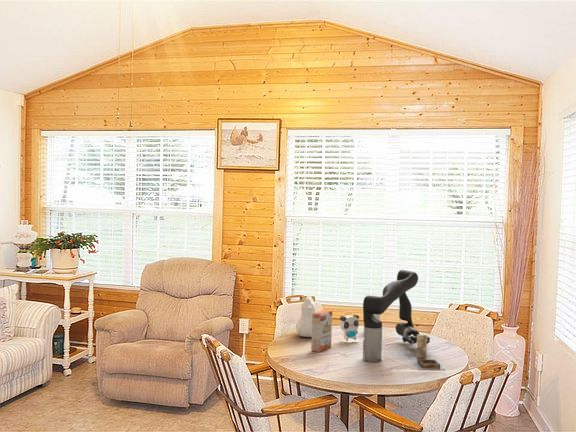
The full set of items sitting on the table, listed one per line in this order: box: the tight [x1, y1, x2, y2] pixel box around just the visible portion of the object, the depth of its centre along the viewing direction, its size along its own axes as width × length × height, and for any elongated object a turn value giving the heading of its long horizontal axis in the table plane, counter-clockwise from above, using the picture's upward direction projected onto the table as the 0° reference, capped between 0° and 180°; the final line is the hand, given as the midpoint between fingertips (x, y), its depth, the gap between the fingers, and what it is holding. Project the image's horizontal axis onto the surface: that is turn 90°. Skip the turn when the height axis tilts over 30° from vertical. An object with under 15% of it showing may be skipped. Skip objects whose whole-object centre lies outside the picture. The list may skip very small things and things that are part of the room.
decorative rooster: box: [295, 296, 317, 338], centre depth 332 cm, size 25×16×25 cm, turn 170°
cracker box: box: [310, 309, 333, 353], centre depth 299 cm, size 14×6×21 cm, turn 149°
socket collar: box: [417, 358, 441, 370], centre depth 267 cm, size 9×9×2 cm
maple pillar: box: [416, 333, 428, 359], centre depth 281 cm, size 5×5×12 cm
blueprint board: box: [406, 355, 446, 371], centre depth 273 cm, size 14×22×1 cm, turn 1°
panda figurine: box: [339, 314, 360, 341], centre depth 319 cm, size 12×11×15 cm
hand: (419, 342), depth 286 cm, fingers open, 8 cm apart
